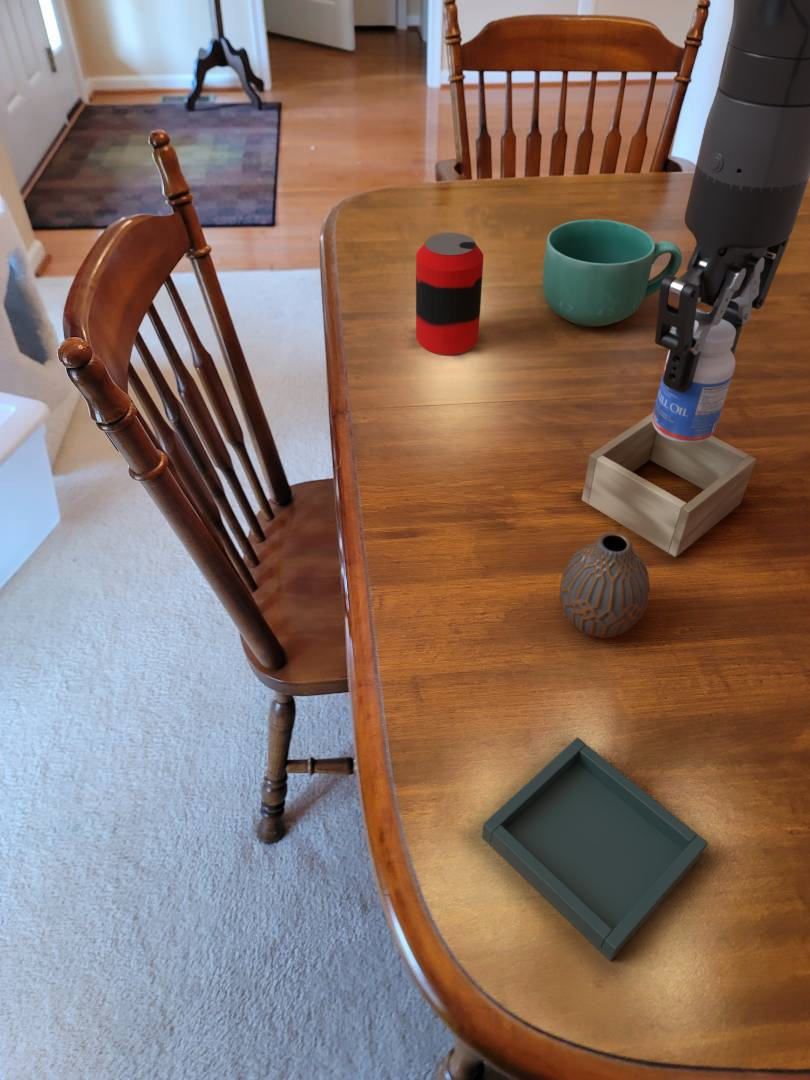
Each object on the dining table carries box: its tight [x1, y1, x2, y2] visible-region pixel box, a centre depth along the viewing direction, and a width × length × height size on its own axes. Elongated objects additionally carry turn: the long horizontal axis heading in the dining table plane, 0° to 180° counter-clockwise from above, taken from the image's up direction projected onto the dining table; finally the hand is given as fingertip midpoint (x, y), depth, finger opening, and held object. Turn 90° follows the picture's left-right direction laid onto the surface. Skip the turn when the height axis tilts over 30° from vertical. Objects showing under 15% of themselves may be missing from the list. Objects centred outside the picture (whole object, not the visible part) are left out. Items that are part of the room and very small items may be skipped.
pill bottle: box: [652, 319, 736, 444], centre depth 70 cm, size 6×5×10 cm
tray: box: [481, 737, 709, 962], centre depth 54 cm, size 11×10×2 cm
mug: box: [542, 218, 683, 328], centre depth 102 cm, size 17×13×10 cm
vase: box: [559, 531, 651, 639], centre depth 66 cm, size 7×7×9 cm
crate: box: [581, 412, 757, 558], centre depth 77 cm, size 11×11×6 cm
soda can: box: [415, 232, 484, 356], centre depth 97 cm, size 8×8×12 cm
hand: (697, 373), depth 69 cm, fingers closed on pill bottle, 5 cm apart
